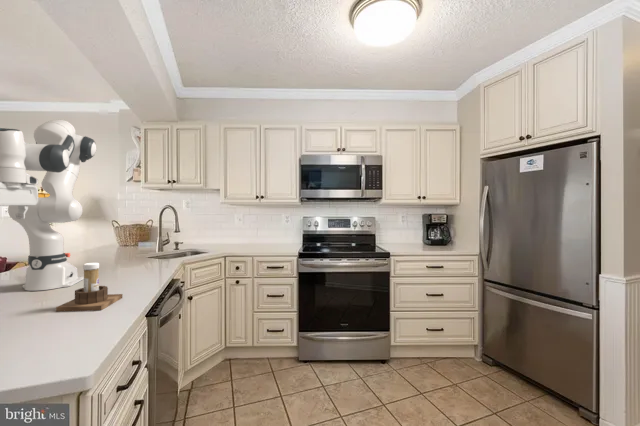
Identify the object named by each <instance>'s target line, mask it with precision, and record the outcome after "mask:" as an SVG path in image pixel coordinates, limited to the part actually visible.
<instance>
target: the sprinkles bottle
mask: <svg viewBox="0 0 640 426" xmlns="http://www.w3.org/2000/svg"><path fill="white" fill-rule="evenodd" d="M82 267H83V277H84V279H83V288H84V292H92V291H97V290H99V286H100V276H99V275H100V273H99V269H100V263H99V262H87V263H84V264H83V266H82Z"/></svg>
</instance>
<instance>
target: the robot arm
mask: <svg viewBox="0 0 640 426" xmlns="http://www.w3.org/2000/svg"><path fill="white" fill-rule="evenodd" d="M76 133H77V131H76V128H75V127H74V125H73V124H72V123H71V122H70V121H67V120H65V119H53V120H49V121H46V122H44V123H42V124H39V126H37V127H36V128H35V129H34V132H33V138H34V142H35V143H31V142H29V143H28V142H26V141H25V135H24V133H23V131H22V130H20V129H18V128H7V127H5V128H1V127H0V207H2V206H6V207H7V206H8V207H7V213H8V216H9V217H10V218H11V219H12V220H13V221H15V222H17V223H18V224H19V225H20V226H21V227H22V228H23V230H24V231H25V233H26V235H27V237H28V244H29V245H28V246H29V248H28V249H29V255H28V259H27V263H28V265H29V266H27V268H26V270H25V271H26V273H25V278H24V284H22V286H21V287H22V288H23V289H24V290H25V291H31V292H32V291H36V292H37V291H48V290H53V289H55V290H56V289H59V288H67V287H72V286H74V285H75V284H77V283H79V282H81V281H84V276H80V275H78V268H77V267H76V266H75V265H73V264H72V263H70V262H69V261H68V258H71V252H64V251H65V248H64V244H65V243H64V242H65V239H64V236H63V235H62V233H60V232H58V231H56V230H54V228H52V227H51V225H50V224H51V223H57V224H58V223H60V224H62V223H63V224H65V223H69V222H70V223H71V222H76V221H78V220H79V219H80V218H81V216H82V215H83V210H84V209H83V206H82V204H81V203H80V201H78V199H76V198H75V197H74V194H73V192H74V189H75V185H76V183H77V181H78V178H79V174H80V169H81V163H86V162H87V161H89V160H91V159H92V158H94V156H95V154H96V152H97V144H96V141H95V140H94V139H93V138H91V137H88V136H86V135H85V136H83V135H79V134H78V133H77V134H76ZM80 162H81V163H80ZM27 171H33V172H36V171H37V172H45V175H44V177H43V179H42V180H41V188H42V190H43V191H44V192H45V193H46V194H49V196H48V197H47V196H46V197H39V188H38V186H37V185H38V184H39V179H38V178H37V177H35V176H32V175H31V174H29V173H27Z"/></svg>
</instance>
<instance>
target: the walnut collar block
mask: <svg viewBox="0 0 640 426" xmlns="http://www.w3.org/2000/svg"><path fill="white" fill-rule="evenodd" d="M108 289H109V288H108V286H105V285H99V290H97V291H92V292H84V287H82V288H78V289H75V290H74V299H72V300H69V301H67V302H65V303H63V304H60V305H58V306H56V307H55V312H58V313H60V312H61V313H62V312H85V311H86V312H87V311H88V312H89V311H93V312H94V311H95V312H96V311H102V310H104V309H106V308H108V307H110V306H111V305H113V304H114V303H117V302H118V301H120V300H121V299H123V293H115V294H108V293H109V291H108Z"/></svg>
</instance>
